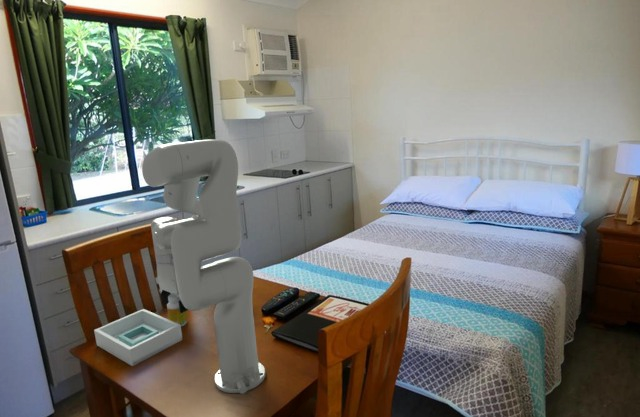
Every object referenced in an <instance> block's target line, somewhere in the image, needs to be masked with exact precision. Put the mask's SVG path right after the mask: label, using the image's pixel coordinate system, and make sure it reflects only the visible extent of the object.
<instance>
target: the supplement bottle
mask: <svg viewBox="0 0 640 417" xmlns="http://www.w3.org/2000/svg"><path fill="white" fill-rule="evenodd" d="M170 294H171V295H169V296H168V301H169V303H168V304H166V307H167V308H166V309H167V310H166V311H167V313H168V314H167V315H168V319H169V320H171V321H173V322H175V323H178V324H180V325H181V327H183V326H185V325H186V324H187V322H188V319H187V311H185V312H183V313H180V308H179V301H180V300H179V298H178V296H177V294H173V293H170Z"/></svg>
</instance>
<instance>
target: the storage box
mask: <svg viewBox="0 0 640 417" xmlns="http://www.w3.org/2000/svg"><path fill="white" fill-rule="evenodd" d="M93 331H94V332H93V333H94V337H95V342H96V346H97V347H99V348H101V349H103V350H105V351H106V352H107V353H109V354H111V355H112V356H114V357H116V358H118V359H119V360H121V361H123V362H125V363H126V364H127V365H129V366H130V367H134V366H136V365H138V364H139V363H142V362H144V361H145V360H147V359H149V358H151V357H153V356H155V355H157V354H159V353H160V352H162V351H164V350H167V349H168V348H171V347H172V346H174V345H176V344H178V343H180V342H182V341H183V340H184V339H183V332H182V326H181V325H180V324H178V323H175V322H173V321H171V320H169V318H166V317H164V316H161V315H159V314H157V313H154V312H151V311H150V310H147V309H145V308H142V309H140V310H138V311H134V312H133V313H131V314H128V315H126V316H124V317H121V318H119V319H116V320H114V321H112V322H109V323H107V324H105V325H103V326H101V327H98V328H95V329H94V330H93Z"/></svg>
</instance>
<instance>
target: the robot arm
mask: <svg viewBox="0 0 640 417" xmlns="http://www.w3.org/2000/svg"><path fill="white" fill-rule="evenodd" d="M141 167H142V168H141V171H142V178H143V179H144V181H145V183H146V184H147V185H148V186H149V187H150V188H151V187H152V188H157V187H162V186H163V187H164V189H163V202H164V203H165V205H166V206H168V208H170V209H172V210H175V211H177V212H183V213H187V214H192V215H191V217H189V218H184V219H180V220H177V219H176V218H175V217H172V216H161V217H158V218H157V217H156V218H154V219H153V220H152V221H151V223H150V228H151V235H152V237H151V238H152V244H153V250H154V255H155V262H156V273H157V274H156V277H155V278H154V279H155V282H156V284H157V285H156V286H157V288H158V293H159V294H160V299H161V300H160V301H161V305H162V306H165V305H166V306H167V304H168V303H169V301H168V296H169V295H171V294H177V296H178V298H179V300H180V301H179V308H180V313H183V312H185V311H186V312H187V311H190V312H197V311H201V310H203V309H207V308H209V307H211V306H212V307H213V306H215V307H214V308H215V309H214V312H213V326H214V334H215V342H216V350H217V356H218V365H219V370H218V371H216V373H215V375H214V385H215V386H216V388H217V389H218V390H220V391H222V392H224V393H227V394H228V393H229V394H238V393H239V394H246V393H247V392H248V391H250V390H253V389H255V388H256V387H258V386H260V384H261V383H262V382H263V381H264V380H265V378H266V368H265V366H264V365H263V364H262V363H261V362H259V359H258V358H259V357H258V347H257V340H256V330H255V329H256V328H255V320H254V309H253V308H254V307H253V306H254V305H253V290H254V270H253V267H252V265H251V263H250V262H249V261H248V260H247V259H246V258H244V257H240V256H230V257H225V258H222V259H218V260H215V261H211V262H209V263H206V264H203V265H202V262H204V261H205V262H206V261H208V260H211V259H215V258H219V257H221V256H225V255H228V254H231V253H233V252H235V251H237V250H238V249H240V247H241V245H242V228H241V220H240V219H241V218H240V212H239V201H238V194H237V189H238V177H239V161H238V157H237V153H236V151H235V149H234V147H233V146H232V145H231V144H230V143H229V142H228V141H226V140H222V139H211V138H209V139H202V140H201V139H199V140H192V141H191V140H190V141H183V142H181V141H180V142H173V143H171V142H170V143H166V144H161V145H158V146H157V147H155V148H154V149H152V150H150V151H149V152H148V153H146V155H145V156H144V158H143V160H142V166H141ZM203 177H207V179H206V180H205V182H204V184H203V185H202V188H201V189H200V192H199V195H198V190H199V185H200V180H201V178H203ZM197 196H198V198H197ZM215 304H217V305H215Z"/></svg>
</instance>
